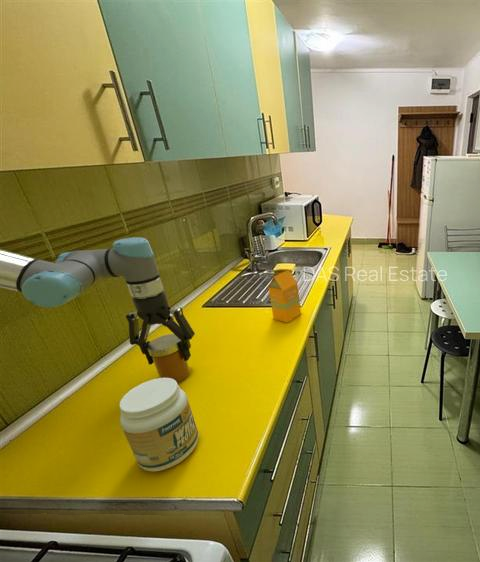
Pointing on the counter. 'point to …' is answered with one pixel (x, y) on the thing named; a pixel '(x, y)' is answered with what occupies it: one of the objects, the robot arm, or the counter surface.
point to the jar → (172, 366)
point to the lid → (164, 345)
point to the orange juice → (284, 297)
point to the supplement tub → (158, 424)
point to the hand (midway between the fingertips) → (170, 359)
